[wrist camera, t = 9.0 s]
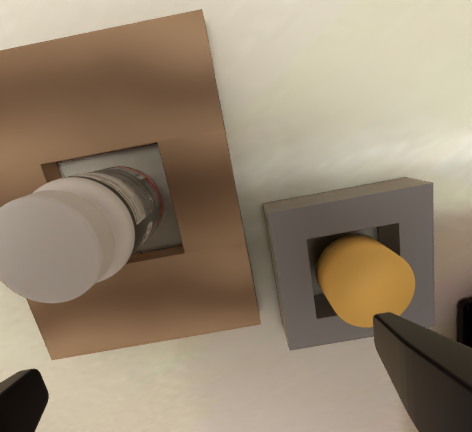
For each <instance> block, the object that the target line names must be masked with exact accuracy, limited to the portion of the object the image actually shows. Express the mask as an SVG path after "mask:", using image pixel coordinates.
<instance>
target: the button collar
mask: <svg viewBox="0 0 472 432" xmlns="http://www.w3.org/2000/svg"><path fill="white" fill-rule="evenodd" d="M263 208H264V214H265V220H266V226H267V232H268V238H269V244H270V250H271V256H272V262H273V269H274V275H275V281H276V287H277V293H278V299H279V305H280V311H281V317H282V323H283V328H284V331H285V335H286V338H287V342H288V345H289V349H290V350H296V349H302V348H308V347H313V346H319V345H325V344H331V343H337V342H343V341H349V340H355V339H361V338H367V337H373V336H374V330H373V327H358V326H354V325H351V324H349V323H347V322H345V321H344V320H342V319H341V318H340V317H339V316H338V315H337V314H336V312H335V311H334V309H333V308H332V306H331V304H330V303H329V301H328V299H327V298H326V296H325V295H324V294H323V295H317V296H314V295H313V287H312V279H311V271H310V264H309V256H308V248H307V240H306V239H311V238H317V237H322V236H328V235H334V234H339V233H345V232H350V231H356V230H361V229H367V228H373V227H378V237H379V242H380V243H381V244H383V245H384V246H386V247H387V248H389V249H390V250H392V251H393V252H395V253H396V254H397V255H399V256H400V257H402V258H403V259H404V260H405V261H406V262H407V263H408V264H409V265H410V267H411V269H412V271H413V273H414V277H415V291H414V295H413V298H412V300H411V302H410V304H409V305H408V307H407V308H406V309H405V311H404V312H403V313H402V314H401V315H399V316H400V317H403V318H405V319H407V320H409V321H412V322H414V323H416V324H418V325H421V326H423V327H425V328H426V327H432V326H434V235H433V183H431V182H426V181H421V180H416V179H412V178H407V177H404V178H399V179H393V180H388V181H382V182H377V183H372V184H366V185H361V186H355V187H350V188H344V189H339V190H334V191H328V192H323V193H317V194H312V195H306V196H301V197H296V198H290V199H285V200H279V201H274V202H268V203H263Z"/></svg>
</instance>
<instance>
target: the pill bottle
mask: <svg viewBox="0 0 472 432" xmlns="http://www.w3.org/2000/svg"><path fill="white" fill-rule="evenodd" d="M162 211H163V204H162V199H161V196H160V193H159V191H158V189H157V187H156V185H155V184H154V183H153V181H152V180H151V179H150V178H149V177H147V176H146V175H145V174H143V173H142V172H140V171H138V170H135V169H132V168H129V167H111V168H107V169H103V170H99V171H94V172H89V173H85V174H80V175H75V176H70V177H64V178H60V179H57V180H54V181H51V182H48V183H46V184H44V185H42V186H41V187H39V188H38V189H37V190H35V191H34V192H33V193H32V194H29V195H27V196H24V197H21V198H18V199H15V200H12V201H10V202H8V203H6V204H5V205H3V206H2V207H0V280H1V281H2V282H3V283H4V284H5V285H6V286H7V287H8V288H9V289H11V290H12V291H13V292H15V293H17V294H19V295H21V296H23V297H25V298H27V299H30V300H33V301H36V302H43V303H62V302H67V301H70V300H73V299H75V298H77V297H79V296H81V295H82V294H84V293H85V292H86V291H88V290H89V289H90V288H91V287H92V286H93V285H94V284H95V283H97V282H100V281H103V280H105V279H108V278H109V277H111V276H113V275H114V274H115V273H117V272H118V271H119V270H120V269H121V268H122V267H123V266H124V265H125V264H126V263H127V262H128V261H129V259H130V258H131V257H132V256H133V255H134V254H135V252H136V251H137V250H138V249H139V248H140V246H141V245H142V244H143V243H144V242H145V241H146V239H147V238H148V237H149V236H150V235H151V234H152V233H153V231H154V230H155V229H156V227H157V226H158V224H159V222H160V219H161V216H162Z"/></svg>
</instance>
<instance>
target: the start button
mask: <svg viewBox="0 0 472 432" xmlns="http://www.w3.org/2000/svg"><path fill="white" fill-rule="evenodd" d="M316 278H317V282H318V284H319V286H320V288H321V290H322V291H323V293H324V295H325V296H326V298H327V299H328V301H329V303H330V304H331V306H332V308H333V309H334V311H335V312H336V314H337V315H338V316H339V317H340V318H341V319H342V320H344V321H345V322H347V323H349V324H351V325H354V326H358V327H373V316H374V315H375V314H379V313H385V312H391V313H394V314H396V315H398V316H399V315H401V314H402V313H403V312H404V311H405V309H406V308H407V307H408V305H409V304H410V302H411V300H412V298H413V295H414V291H415V277H414V273H413V271H412V269H411V267H410V265H409V264H408V263H407V262H406V261H405V260H404V259H403V258H402V257H400V256H399V255H397V254H396V253H395V252H393V251H392V250H390V249H389V248H387V247H386V246H384V245H383V244H381V243H380V242H378V241H377V240H375V239H374V238H372V237H369V236H366V235H360V234H353V235H347V236H344V237H341V238H339V239H337V240H335V241H333V242H332V243H331V244H329V245H328V246H327V247H326V248H325V249H324V251H323V252H322V253H321V255H320V257H319V259H318V262H317V266H316Z"/></svg>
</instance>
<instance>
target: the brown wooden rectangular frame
mask: <svg viewBox="0 0 472 432" xmlns="http://www.w3.org/2000/svg"><path fill="white" fill-rule="evenodd" d="M154 143H158V146H159V151H160V155H161V159H162V163H163V167H164V171H165V175H166V179H167V183H168V187H169V191H170V195H171V199H172V203H173V207H174V211H175V215H176V219H177V223H178V228H179V232H180V236H181V240H182V244H183V246H178V247H173V248H167V249H162V250H156V251H151V252H145V253H140V254H134V255H133V256H132V257H131V258H130V259H129V261H128V262H127V263H126V264H125V265H124V266H123V267H122V268H121V269H120V270H119V271H118V272H117V273H115V274H114V275H113V276H111V277H109V278H108V279H105V280H103V281H100V282H97V283H95V284H94V285H93V286H92V287H91V288H90V289H89V290H88V291H86V292H85V293H84V294H82V295H81V296H79V297H77V298H75V299H73V300H70V301H67V302H62V303H43V302H36V301H33V300H30V299H27V298H26V299H27V301H28V304H29V306H30V309H31V311H32V313H33V316H34V318H35V321H36V323H37V325H38V328H39V330H40V333H41V335H42V337H43V340H44V342H45V345H46V347H47V349H48V352H49V354H50V357H51V359H52V360H55V359H61V358H67V357H73V356H79V355H84V354H90V353H96V352H102V351H108V350H113V349H119V348H125V347H131V346H137V345H143V344H148V343H154V342H160V341H166V340H172V339H177V338H183V337H189V336H195V335H201V334H206V333H212V332H218V331H224V330H230V329H236V328H241V327H247V326H253V325H259V324H261V322H260V316H259V310H258V305H257V300H256V294H255V289H254V284H253V278H252V273H251V267H250V262H249V257H248V251H247V246H246V241H245V235H244V230H243V225H242V219H241V214H240V209H239V203H238V198H237V192H236V187H235V182H234V176H233V171H232V166H231V160H230V155H229V150H228V144H227V139H226V134H225V128H224V123H223V117H222V112H221V107H220V101H219V96H218V91H217V85H216V80H215V75H214V69H213V64H212V59H211V53H210V48H209V42H208V37H207V32H206V26H205V21H204V16H203V12H202V9H201V10H196V11H191V12H186V13H181V14H177V15H172V16H167V17H162V18H157V19H152V20H147V21H142V22H137V23H133V24H128V25H123V26H118V27H113V28H108V29H103V30H98V31H94V32H89V33H84V34H79V35H74V36H69V37H64V38H59V39H55V40H50V41H45V42H40V43H35V44H30V45H25V46H20V47H16V48H11V49H6V50H1V51H0V207H2V206H3V205H5V204H6V203H8V202H10V201H12V200H15V199H18V198H21V197H24V196H27V195H29V194H32V193H33V192H34V191H35V190H37V189H38V188H39V187H41V186H42V185H44V184H46V183H48V182H51V181H54V180H57V179H60V178H61V175H60V172H59V169H58V166H57V163H56V162H60V161H66V160H71V159H76V158H81V157H86V156H92V155H97V154H102V153H107V152H112V151H118V150H123V149H128V148H133V147H138V146H144V145H149V144H154Z"/></svg>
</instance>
